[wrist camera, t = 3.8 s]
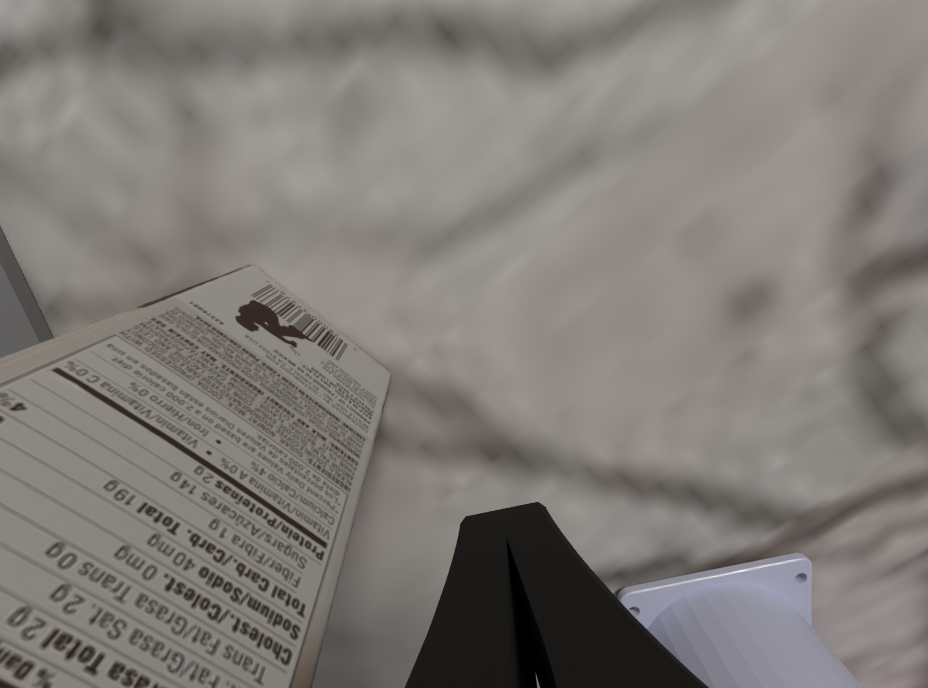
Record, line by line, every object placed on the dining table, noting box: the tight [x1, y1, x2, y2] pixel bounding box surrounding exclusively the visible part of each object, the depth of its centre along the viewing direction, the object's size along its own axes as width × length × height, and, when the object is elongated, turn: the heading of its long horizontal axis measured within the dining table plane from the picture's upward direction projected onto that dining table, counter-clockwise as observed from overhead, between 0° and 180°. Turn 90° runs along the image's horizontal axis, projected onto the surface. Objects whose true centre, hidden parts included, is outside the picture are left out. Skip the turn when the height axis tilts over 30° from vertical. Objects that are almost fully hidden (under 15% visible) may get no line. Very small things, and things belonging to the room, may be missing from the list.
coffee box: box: [0, 265, 391, 688], centre depth 10 cm, size 9×6×16 cm
